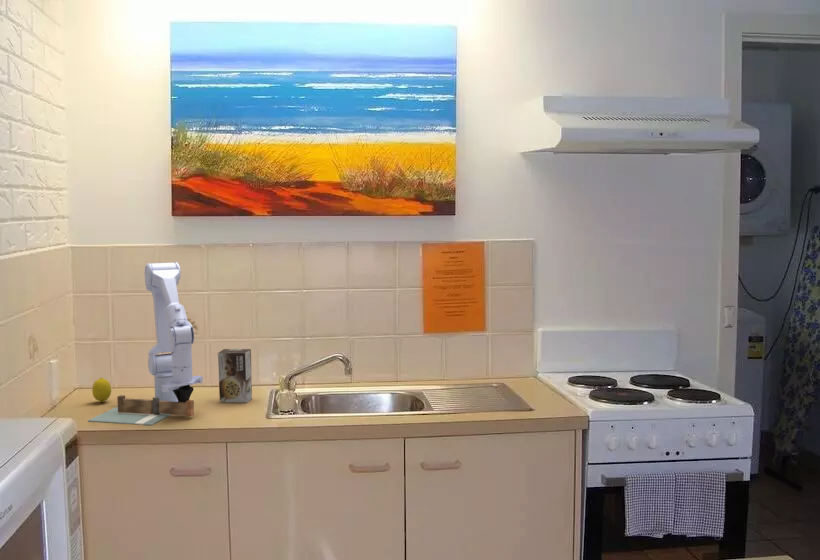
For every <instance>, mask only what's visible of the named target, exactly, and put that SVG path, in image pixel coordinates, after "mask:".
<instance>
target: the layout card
mask: <svg viewBox="0 0 820 560" xmlns="http://www.w3.org/2000/svg"><path fill="white" fill-rule="evenodd" d="M171 415H172V414H161V413H160V414H159V415H154V414H141V413H124V412H123V413H120V412H118V406H115V407H113V408H111V409H109V410H107V411H105V412H103V413H101V414H98V415H97V416H94V417H92V418H90V419H88V420H87V422H92V423H106V424H107V423H110V424H123V425H124V424H127V425H142V426H144V425H145V426H154V425H155V424H157V423H159V422H161V421H162V420H164V419H166V418H167V417H170V416H171ZM172 416H173V415H172Z"/></svg>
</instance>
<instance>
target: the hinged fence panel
mask: <svg viewBox="0 0 820 560" xmlns="http://www.w3.org/2000/svg"><path fill="white" fill-rule="evenodd" d="M159 413H161V414H172V416H174V415H175V416H184V417H193V416H195V402H194V399H193V400H192V399H189V400H188V401H186V403H185V402H173V401H162V400H161V401H159Z"/></svg>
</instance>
